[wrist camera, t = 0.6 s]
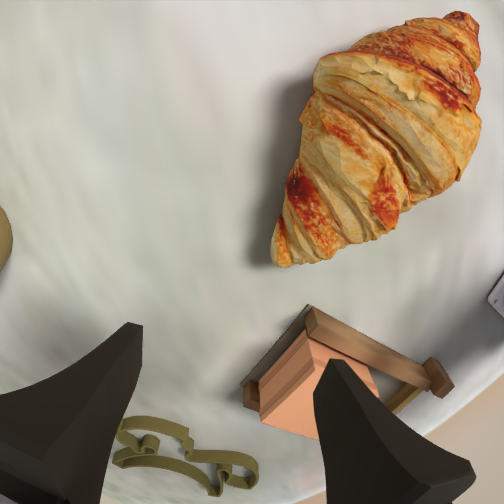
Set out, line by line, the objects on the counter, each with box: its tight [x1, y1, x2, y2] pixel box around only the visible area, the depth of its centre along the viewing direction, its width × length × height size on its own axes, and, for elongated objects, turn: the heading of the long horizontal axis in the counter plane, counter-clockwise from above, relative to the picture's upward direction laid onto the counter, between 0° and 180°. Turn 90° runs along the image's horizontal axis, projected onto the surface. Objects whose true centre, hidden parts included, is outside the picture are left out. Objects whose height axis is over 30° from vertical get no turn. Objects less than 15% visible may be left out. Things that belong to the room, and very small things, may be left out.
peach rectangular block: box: [259, 329, 379, 440], centre depth 22 cm, size 6×6×4 cm
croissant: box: [270, 11, 482, 268], centre depth 15 cm, size 21×10×8 cm, turn 145°
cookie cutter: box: [112, 416, 259, 497], centre depth 29 cm, size 18×12×2 cm, turn 61°
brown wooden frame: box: [240, 304, 455, 415], centre depth 24 cm, size 15×11×4 cm
